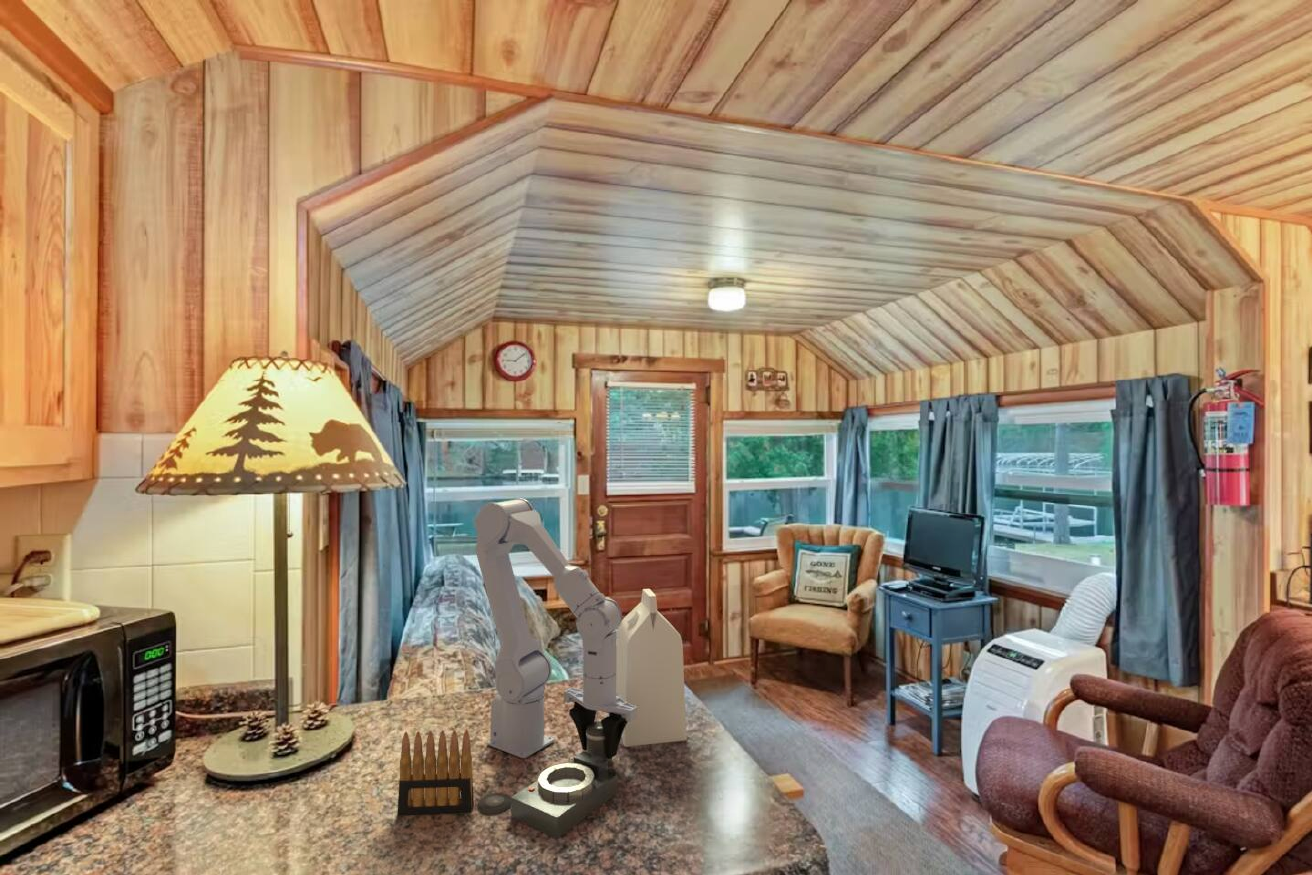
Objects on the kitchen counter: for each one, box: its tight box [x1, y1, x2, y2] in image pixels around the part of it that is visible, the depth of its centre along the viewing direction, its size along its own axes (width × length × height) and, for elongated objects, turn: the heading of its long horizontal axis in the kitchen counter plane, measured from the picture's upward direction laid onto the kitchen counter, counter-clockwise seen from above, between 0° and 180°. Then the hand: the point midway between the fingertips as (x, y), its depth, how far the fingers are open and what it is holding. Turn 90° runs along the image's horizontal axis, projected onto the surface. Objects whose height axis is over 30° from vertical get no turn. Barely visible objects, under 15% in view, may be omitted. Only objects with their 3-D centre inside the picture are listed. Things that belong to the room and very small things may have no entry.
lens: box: [586, 720, 613, 767], centre depth 112 cm, size 5×5×6 cm
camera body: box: [510, 750, 619, 840], centre depth 99 cm, size 9×14×5 cm, turn 146°
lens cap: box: [477, 792, 512, 815], centre depth 99 cm, size 5×5×1 cm
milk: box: [616, 588, 688, 748], centre depth 124 cm, size 12×12×26 cm
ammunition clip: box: [397, 729, 475, 817], centre depth 97 cm, size 11×2×12 cm, turn 95°
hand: (599, 751), depth 112 cm, fingers open, 5 cm apart
